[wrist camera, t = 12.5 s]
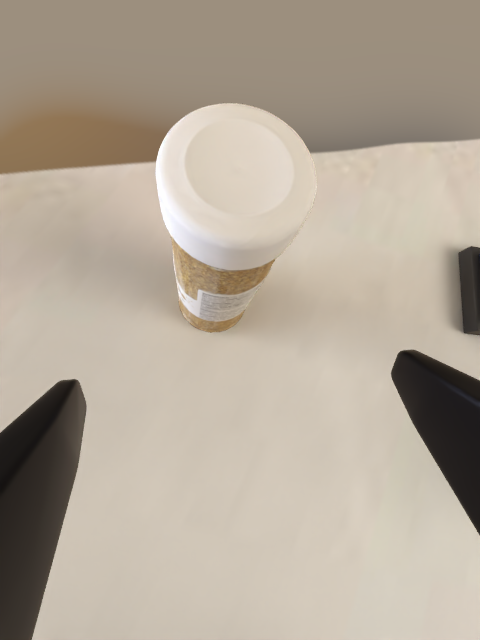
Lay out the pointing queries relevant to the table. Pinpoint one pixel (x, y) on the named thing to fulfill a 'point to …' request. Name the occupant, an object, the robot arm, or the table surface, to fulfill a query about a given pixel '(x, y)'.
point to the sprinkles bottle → (230, 205)
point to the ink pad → (470, 289)
